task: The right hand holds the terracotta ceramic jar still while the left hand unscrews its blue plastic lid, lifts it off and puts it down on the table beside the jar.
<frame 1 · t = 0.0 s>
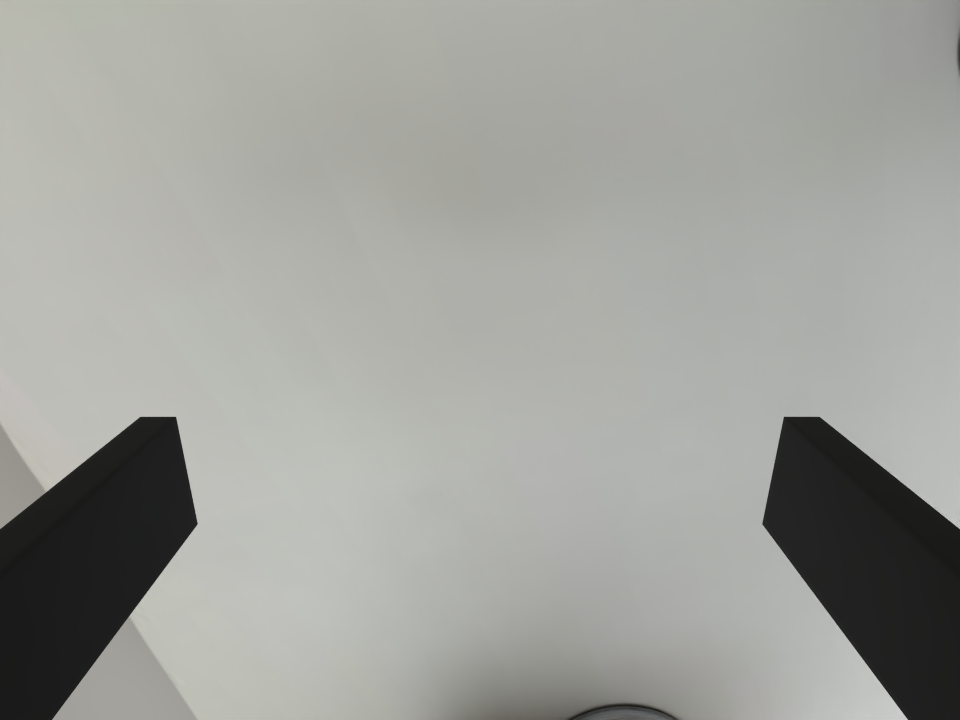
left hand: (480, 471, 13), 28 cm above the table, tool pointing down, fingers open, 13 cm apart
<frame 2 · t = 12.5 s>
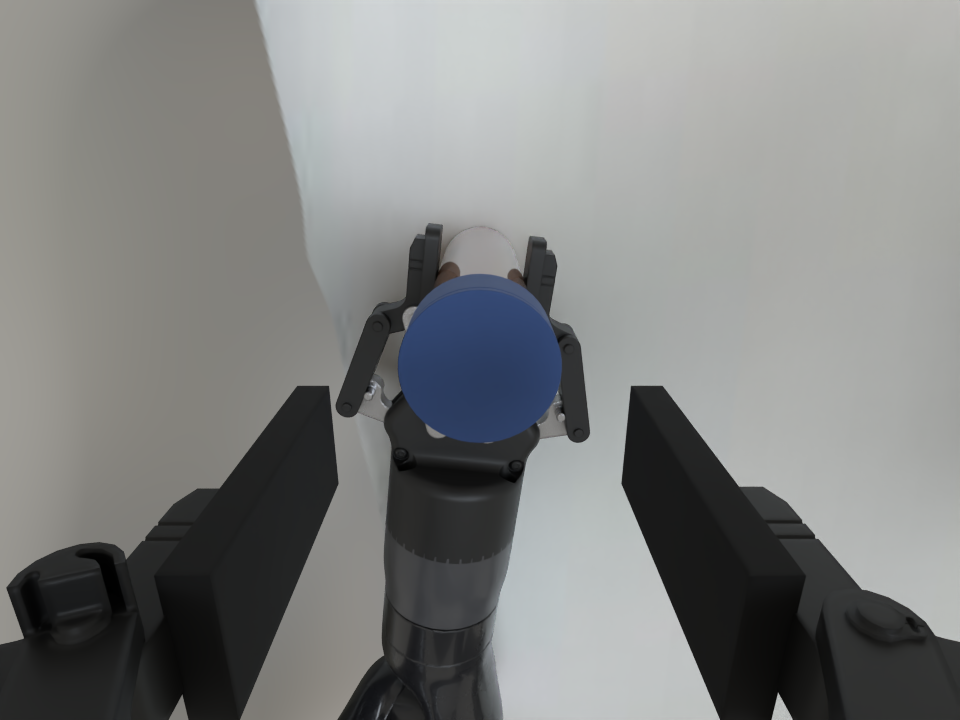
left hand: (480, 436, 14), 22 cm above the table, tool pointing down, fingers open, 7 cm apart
right hand: (485, 234, 28), fingers closed on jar, 4 cm apart
lid: (479, 366, 19), point 17 cm above the table, screwed on, not yet turned
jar: (479, 263, 35), on the table, touching right hand
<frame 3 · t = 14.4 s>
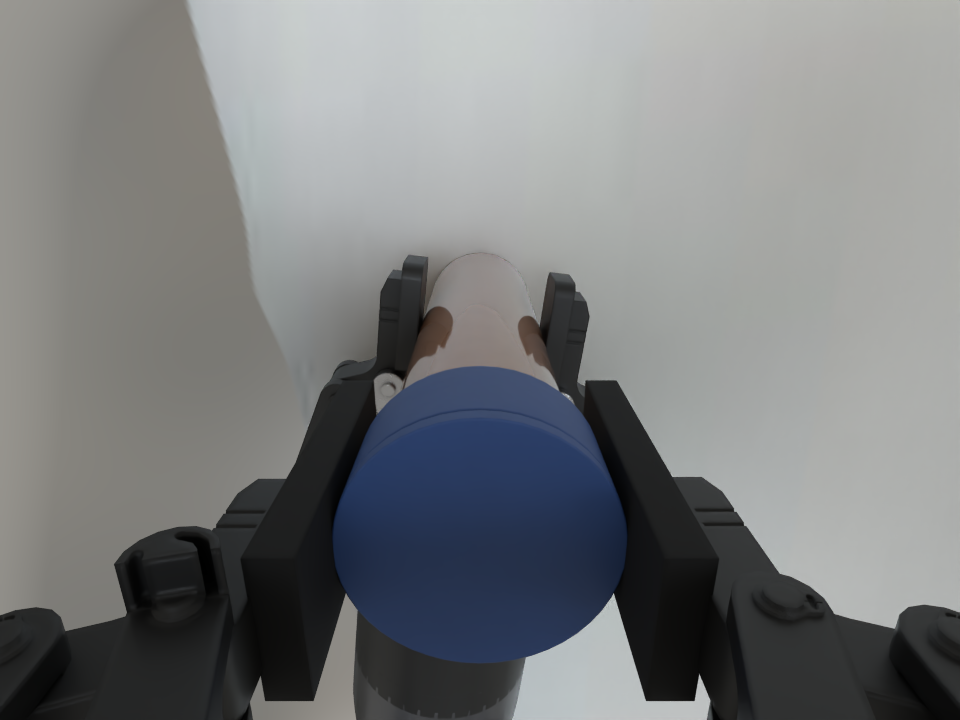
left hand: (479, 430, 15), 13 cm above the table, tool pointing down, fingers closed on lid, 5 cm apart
lid: (479, 539, 11), point 17 cm above the table, screwed on, not yet turned, touching left hand
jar: (480, 300, 27), on the table, touching right hand
when the left hand's fingers open (13 cm above the table, at t = 15.8 s): lid stays where it is, point 18 cm above the table.
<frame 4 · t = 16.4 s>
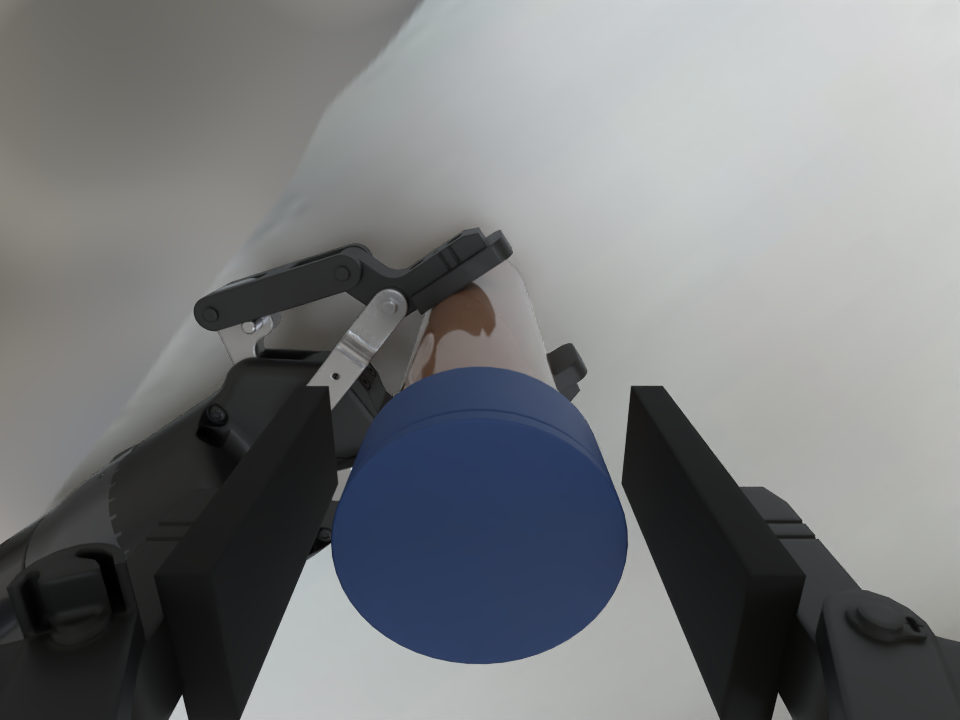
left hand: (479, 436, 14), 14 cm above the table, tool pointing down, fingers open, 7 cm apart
right hand: (541, 301, 21), fingers closed on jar, 4 cm apart
lid: (479, 540, 11), point 18 cm above the table, turned 98° so far, risen 0.3 cm, still on its thread
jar: (479, 298, 27), on the table, touching right hand
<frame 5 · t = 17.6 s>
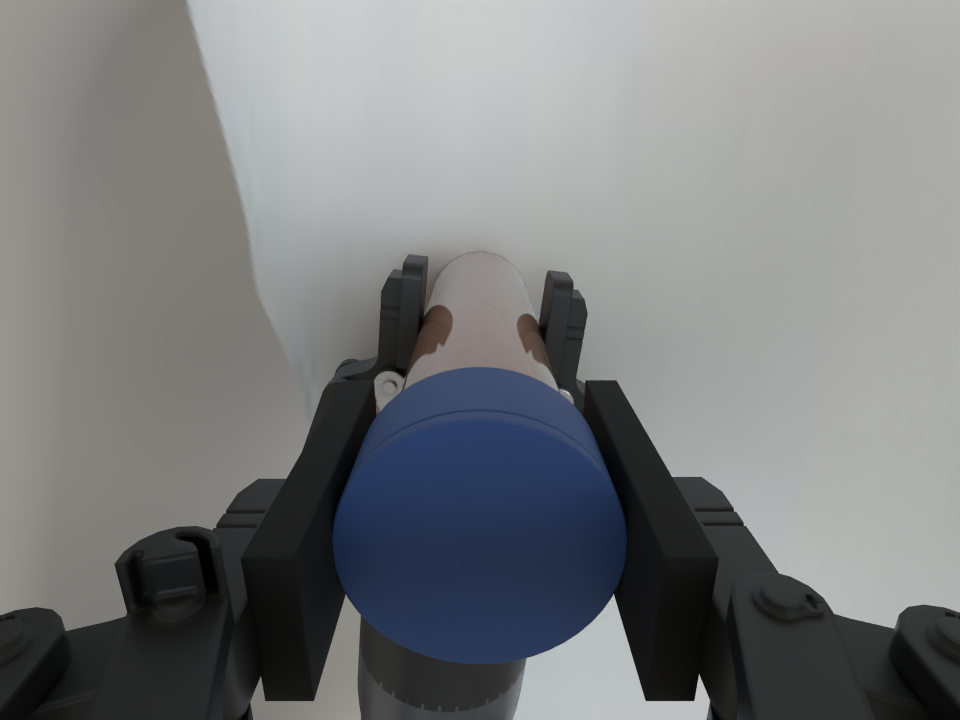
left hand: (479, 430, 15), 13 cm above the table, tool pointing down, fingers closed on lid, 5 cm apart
lid: (479, 540, 11), point 18 cm above the table, turned 98° so far, risen 0.3 cm, still on its thread, touching left hand
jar: (479, 299, 27), on the table, touching right hand
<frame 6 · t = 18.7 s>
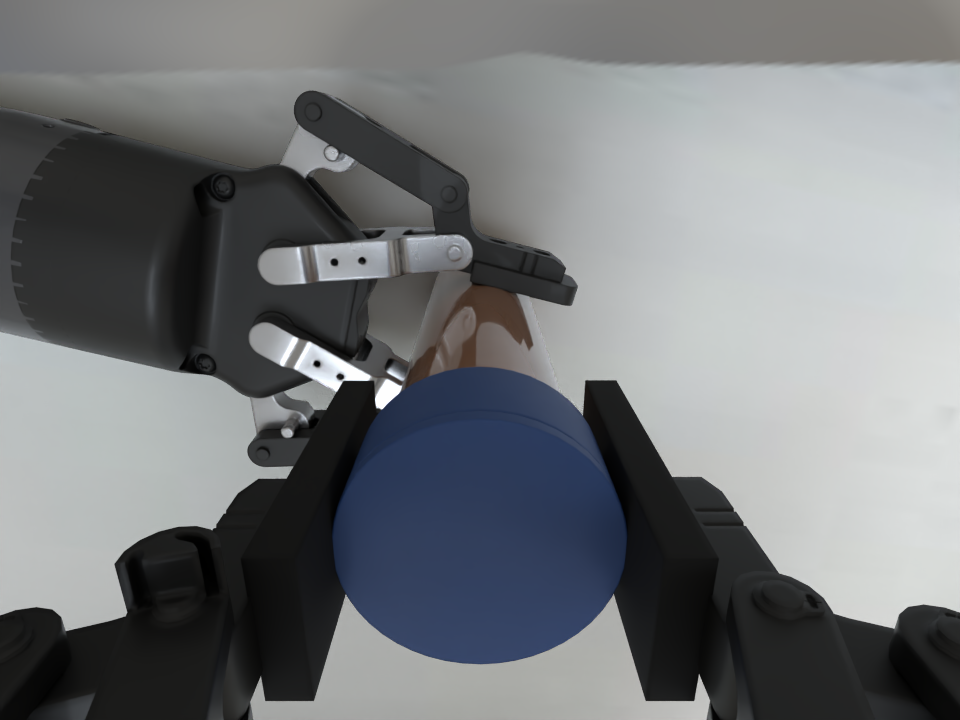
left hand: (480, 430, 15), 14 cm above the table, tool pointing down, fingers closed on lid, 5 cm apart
right hand: (549, 353, 22), fingers closed on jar, 4 cm apart
lid: (479, 540, 11), point 18 cm above the table, off its thread, touching left hand
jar: (479, 295, 27), on the table, touching right hand
when the left hand's fingers open (0 cm above the table, at t = 24.3 s): lid drops 2 cm, point 2 cm above the table.
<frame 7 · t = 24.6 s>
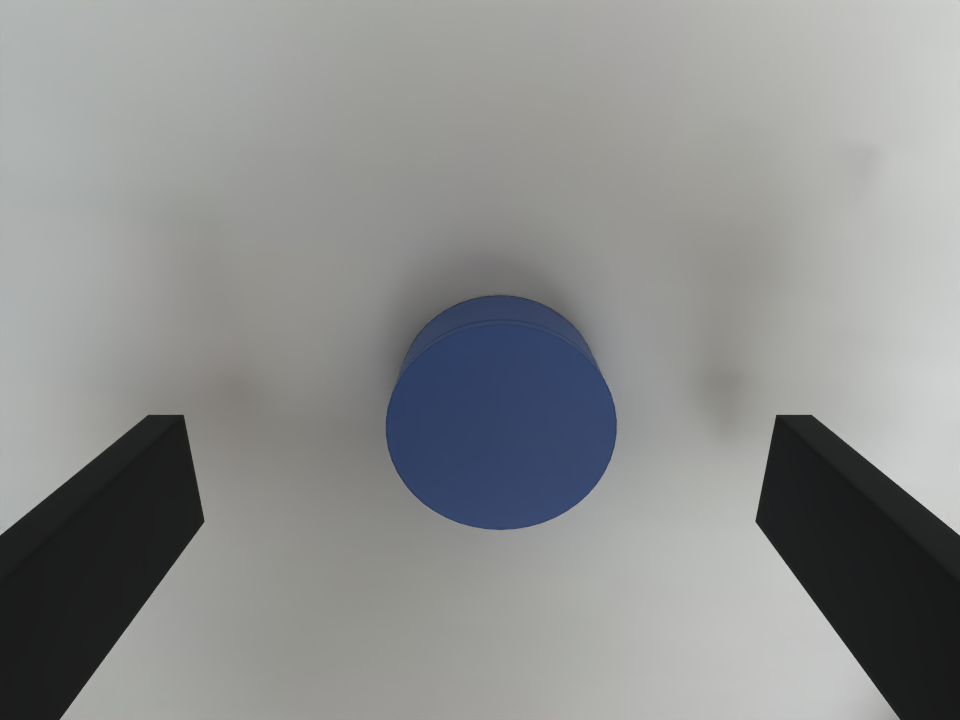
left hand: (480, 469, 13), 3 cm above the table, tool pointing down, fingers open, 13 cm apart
lid: (500, 427, 13), point 2 cm above the table, off its thread
when the right hand's fingers open (6 cm above the table, at t = 24.9 s): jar stays where it is, on the table.
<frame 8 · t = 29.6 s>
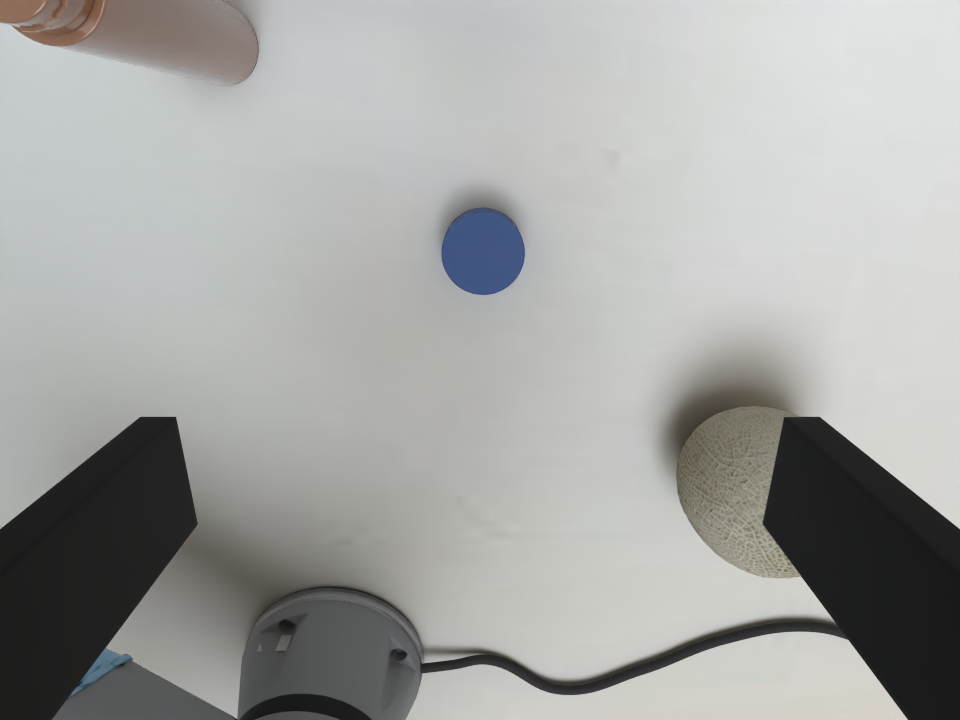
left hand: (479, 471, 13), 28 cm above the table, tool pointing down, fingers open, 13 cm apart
fruit: (729, 448, 44), on the table
lid: (483, 253, 37), point 2 cm above the table, off its thread
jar: (221, 45, 35), on the table
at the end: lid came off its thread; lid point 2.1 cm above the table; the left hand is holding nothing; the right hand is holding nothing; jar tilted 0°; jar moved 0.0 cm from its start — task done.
